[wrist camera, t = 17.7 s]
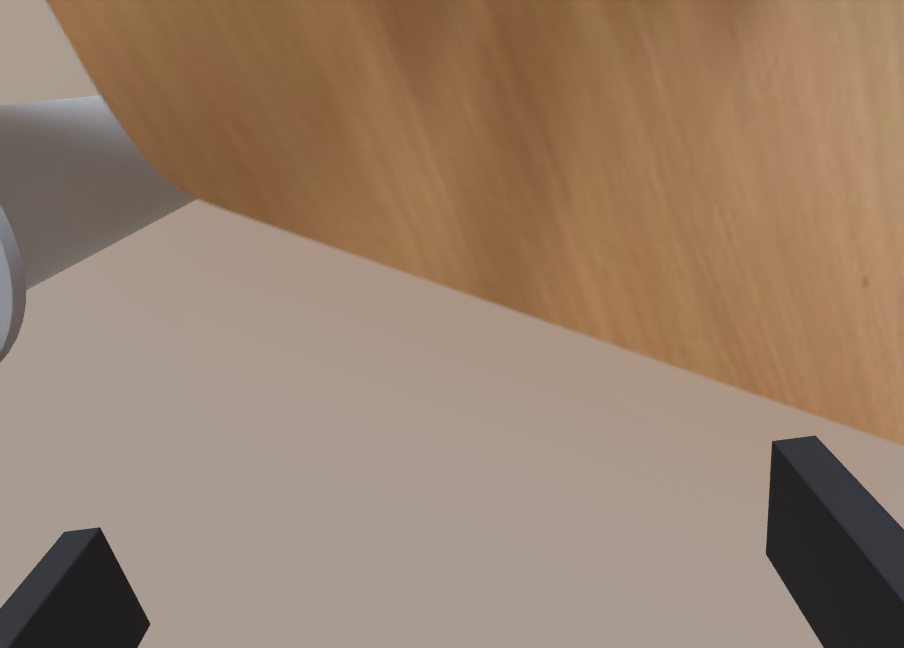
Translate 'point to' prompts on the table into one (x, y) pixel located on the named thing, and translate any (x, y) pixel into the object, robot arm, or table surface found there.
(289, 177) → the table surface
